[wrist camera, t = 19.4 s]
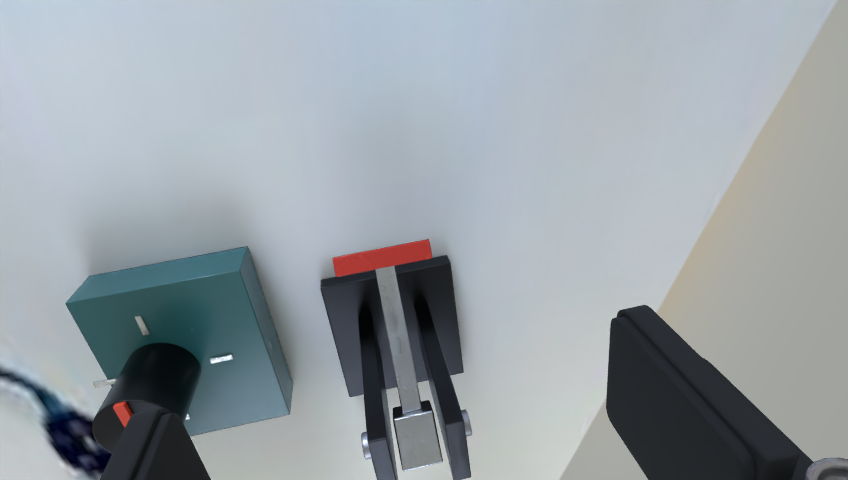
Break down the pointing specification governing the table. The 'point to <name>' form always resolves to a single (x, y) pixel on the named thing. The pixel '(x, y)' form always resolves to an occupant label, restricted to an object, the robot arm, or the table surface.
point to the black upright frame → (372, 362)
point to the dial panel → (193, 332)
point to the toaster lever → (400, 350)
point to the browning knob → (147, 389)
